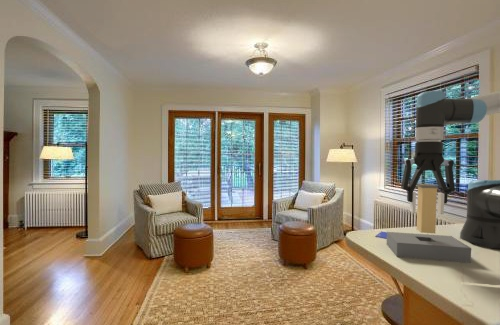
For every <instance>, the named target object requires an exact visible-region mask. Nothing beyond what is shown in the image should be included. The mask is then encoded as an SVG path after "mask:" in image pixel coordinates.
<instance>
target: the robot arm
mask: <svg viewBox="0 0 500 325" xmlns="http://www.w3.org/2000/svg"><path fill="white" fill-rule="evenodd" d="M416 98H417V99H416V105H415V110H416V112H415V113H416V114H415V137H414V139H415V141H416V142H415V144H414V156H413V158H409V159H407V158H406V159H404V160H403V164H404V167H403V169H404V170H403V174H402V179H401V186H400V188H401V190H404V191H406V192H407V193H406V194H407V195H406V200H407V202H409V212H410V213H412V214H416V211H417V208H416V206H417V204H416V203H417V192H416V191H414V190H415V189H416V186H418V184H419V180H420V179H421V176H422V174H423V173H424V171H425V172H426V171H431V172H432V173H433V176H434V178H435V180H436V183H437V186H438V188H439V191H440V192H437V203H436V214H440V215H445V214H444V213H445V211H444V210H445V204H447V203H448V195H449V194H450V193H451V192H455V191H456V187H455V186H456V185H455V178H454V177H455V176H454V170H453V167H454V165H455V161H454V160H453V159H445V158H444V156H443V153H444V143H443V140H444V129H445V128H444V127H445V126H448V125H455V124H472V123H473V124H475V123H479V122H481V121H482V120H483V119H484V118H485V117H486V116H489V115H490V116H491V115H495V114H499V113H500V90H499V91H493V92H490V93H486V94H480V95H476V96H473V97H472V96H471V97H466V98H447V97H446V93H445V91H443V90H429V91H427V90H426V91H423V92H420V93H419V94H418V95H417V97H416ZM414 164H415V165H416V168H415V170H414V174H412V175H413V176H412V177H410V176H411V171H412V166H413V165H414ZM442 164H443V166H444V174H445V179H444V177H443V174H442V170H441V168H440V167H441V165H442ZM410 178H411V179H410ZM466 192H467V196H466V220H465V221H464V223H463V226H462V228H461V230H460V233H459V239H460V240H463V241H465V242H467V243H469V244H471V245H473V246H478V247H482V248H487V249H488V248H489V249H495V250H496V249H497V250H500V179H490V180H489V179H483V180H481V179H479V180H471V181H469V182H468V185H467V190H466Z"/></svg>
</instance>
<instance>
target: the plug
mask: <svg viewBox="0 0 500 325" xmlns="http://www.w3.org/2000/svg"><path fill="white" fill-rule="evenodd" d="M438 188H439V186H438V185H437V184H430V183H417V201H416V203H417V204H416V206H417V208H416V230H417V231H418V232H420V234H436V228H437V227H436V226H437V224H436V223H437V221H436V220H437V203H438Z"/></svg>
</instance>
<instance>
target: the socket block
mask: <svg viewBox="0 0 500 325" xmlns="http://www.w3.org/2000/svg"><path fill="white" fill-rule="evenodd" d="M386 232H387V239H386V245H387V247H388V248H389V249H390V250H391V252H392V253H393V255H394V256H396V258H406V259H418V260H419V259H420V260H427V261H428V260H431V261H440V262H443V261H444V262H453V263H454V262H456V263H467V264H471V261H472V247H470V246H468V245H467V244H465V243H464V242H462V241H460V240H459V239H457V238H455V237H454V236H452V235H441V234H439V235H438V234H429V233H413V232H412V233H409V232H395V231H386Z"/></svg>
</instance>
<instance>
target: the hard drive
mask: <svg viewBox="0 0 500 325" xmlns="http://www.w3.org/2000/svg"><path fill="white" fill-rule="evenodd" d="M387 232H388V231H380V232H379V233H378V234H376V235H375V237H376V238H380V239H385V240H387Z"/></svg>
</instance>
